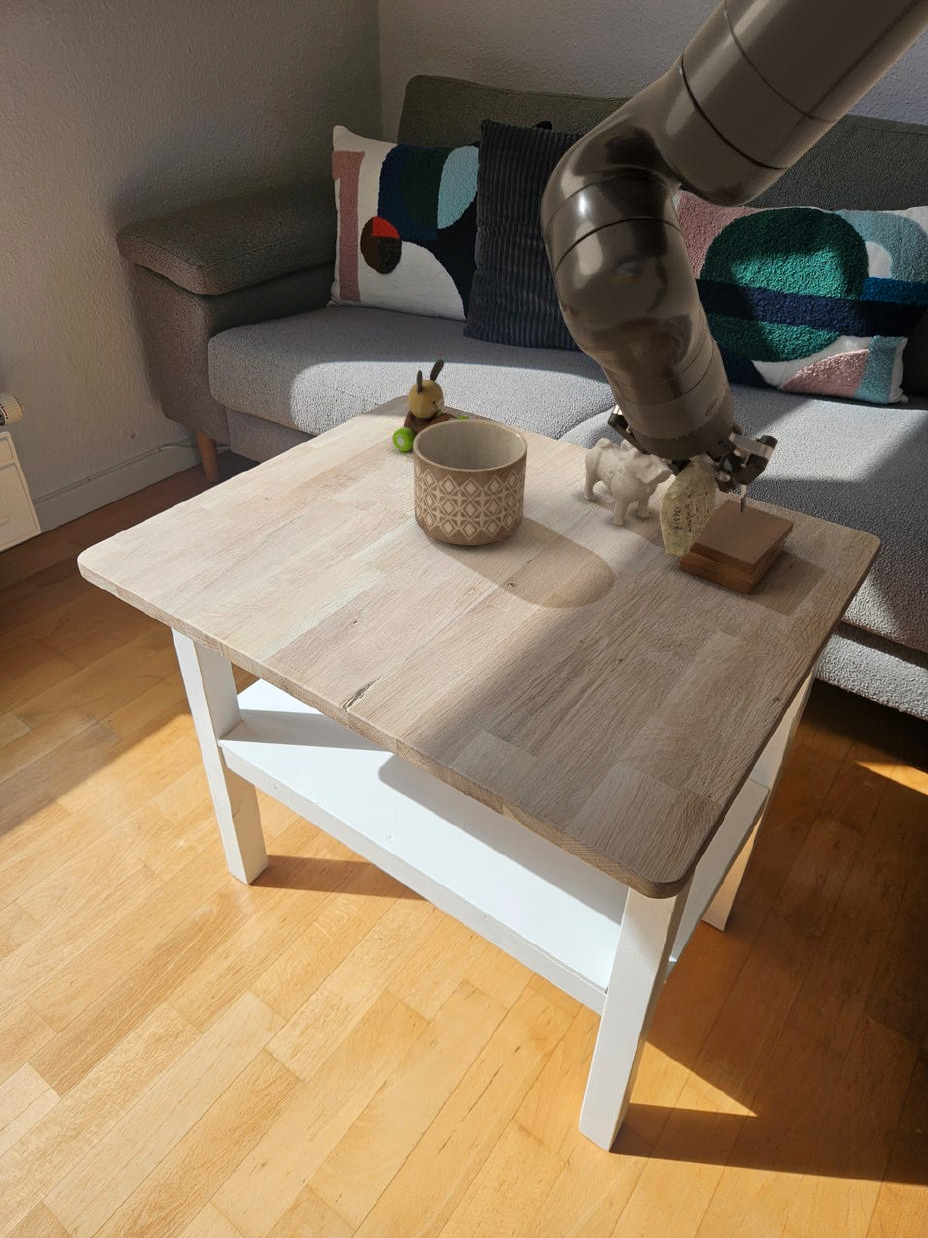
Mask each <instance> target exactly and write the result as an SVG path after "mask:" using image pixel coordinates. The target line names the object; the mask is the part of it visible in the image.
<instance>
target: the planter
mask: <svg viewBox="0 0 928 1238" xmlns="http://www.w3.org/2000/svg"><path fill="white" fill-rule="evenodd" d="M412 448H413V489H414V490H413V492H414V495H413V496H414V500H413V501H414V520H415V522H416V524H417V526H418V527H419V528H420V529H421V530H422V531H423V532H424V533H426V534H427V535H429V536H430V537H432V538H434V539H436V540H439V541H442V542H445V543H448V544H455V545H459V546H460V545H461V546H478V545H486V544H491V543H495V542H498V541H502V540H504V539H506V538H508V537H509V536H511V535H512V534H514V533H515V532H516V531H517V530H518V529H519V528H520V526H521V524H522V521H523V516H524V515H523V513H524V498H525V487H526V485H525V484H526V472H527V471H526V469H527V457H528V443H527V440H526V439H525V437H524V436H523V435H522V434H521V432H519V431H517V430H515V429H514V428H512V427H510V426H508V425H505V424H503V423H499V422H495V421H491V420H485V419H472V418H469V419H460V420H451V421H445V422H441V423H437V424H434V425H432V426H430V427H427V428H426V429H424V430H422V431H421V432H420V433H419V434H418V435H417V436H416V438H415V440H414V443H413V447H412Z"/></svg>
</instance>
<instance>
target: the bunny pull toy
mask: <svg viewBox="0 0 928 1238" xmlns="http://www.w3.org/2000/svg"><path fill="white" fill-rule="evenodd" d="M444 366H445V361H444V359H442V358H441V359H438V360H436V361H435V362H434V363H433V366H432V368H431V370H430V373H429V379H424V378H423V377H424V376H423V371H422V370H421V369H420V370H418V371H417V374H416V382H415V383H414V384H413V385H412V387H410V389H409V392H408V394H407V405H408V408H409V410H408V412H407V414H406V416H405V418H404V422H403V426H402V427H400V428H398V429H397V430H395V431H394V432H393V434H392V442H393V445H394V447H395V448H396V449H397V450H399V451H400V452H408V451H410V450H411V449H413V448H414V447H413V443H414V440H415V438H416V436H417V435H418V434H419V433H420V432H421V431H422V430H424V429H426V428H427V427H430V426H432V425H434V424H437V423H441V422H445V421H451V420H460V419H470V418H469V417H468V416H466V415H464V414H463V415H462V414H461V415H458V416H455V415H453V414H451V413H448V412H444V411H443V408H444V405H445V398H444V392H443V388H442V387H441V385H440V384H439V383H438V382H436V381H437V379H438V376H439V375H440V373H441V372H442V370H443V369H444Z"/></svg>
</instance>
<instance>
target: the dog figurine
mask: <svg viewBox="0 0 928 1238" xmlns="http://www.w3.org/2000/svg"><path fill="white" fill-rule="evenodd" d="M584 465H585V466H584V467H585V483H584V490H583V499H585V500H586V501H595V500H596V496H595V494H594V486H595V485H596V484H597V483H599V482H602V483H603V484H604V485H605V486H606V488H607V490H608V492H610V493H611V496H612V498H613V500H614V509H613V516H612V523H613V524H614V525H616V526H619V527H621V526H624V524H625V516H626V513H627V511H628V508H629V506H630V505H631V504H633V503H635V502H637V509H636V510H635V511H636V512H637V516H638V517H640V518H643V519H646V518H647V519H648V518H649V517H650V513H649V509H648V508H649V501H650V498H651V497H653V495H654V494H655V493H656V491H657V488H658V485H660V484H662V483H665V482H666V481H668V480H669V479H670V477H671V476H672V474H673V471H672V470H671V469H669V467H668V465H667V464H665V463H663V462H662V461H660V460H659V459H658V457H657V456H655V455H653V454H651V455H644V454H642V453H641V452H640V451H638V450H637V449H636V448H635V447H634V446H633V445H631V444H630V443H629V442H628V441H627V440H626V439H625V438H624V439H623V440H622V441H621V443H620V445H619V444H617V443H613V441H612V440H610V439H608V438H607V437H601V438H600V439H598V441H597V442H596V444H595V445H594V446H593V447H592V448H591V449H590V450H588V451H587V452H586V455H585V459H584Z"/></svg>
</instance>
